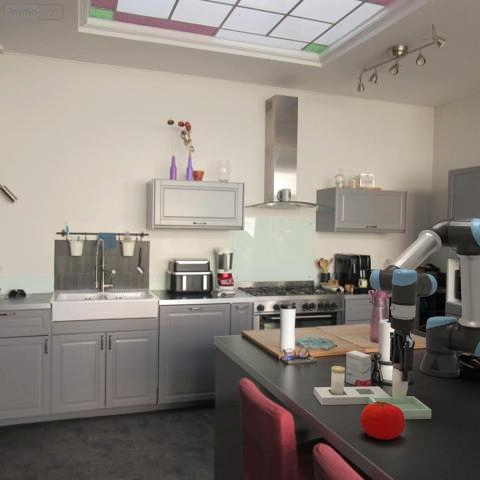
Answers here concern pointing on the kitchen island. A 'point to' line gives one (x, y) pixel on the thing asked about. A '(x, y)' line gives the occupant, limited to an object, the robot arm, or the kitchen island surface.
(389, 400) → the parts tray
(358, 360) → the ink box
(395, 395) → the cylinder
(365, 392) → the socket strip
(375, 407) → the tomato
